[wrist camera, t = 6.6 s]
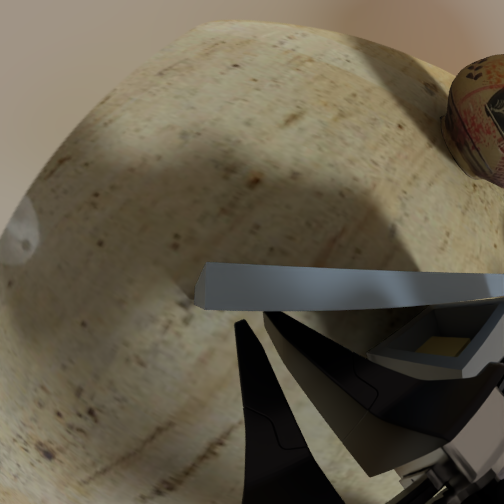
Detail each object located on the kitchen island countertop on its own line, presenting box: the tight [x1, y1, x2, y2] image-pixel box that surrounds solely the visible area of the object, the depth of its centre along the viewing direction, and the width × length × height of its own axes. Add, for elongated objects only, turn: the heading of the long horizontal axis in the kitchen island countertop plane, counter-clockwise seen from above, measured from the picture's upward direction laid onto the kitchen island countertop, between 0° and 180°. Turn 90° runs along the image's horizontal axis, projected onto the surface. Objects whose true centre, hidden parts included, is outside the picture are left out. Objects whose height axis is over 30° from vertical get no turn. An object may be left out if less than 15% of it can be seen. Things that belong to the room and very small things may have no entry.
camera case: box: [366, 298, 504, 380], centre depth 14 cm, size 7×8×8 cm
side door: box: [194, 262, 504, 311], centre depth 13 cm, size 1×19×10 cm, turn 89°
